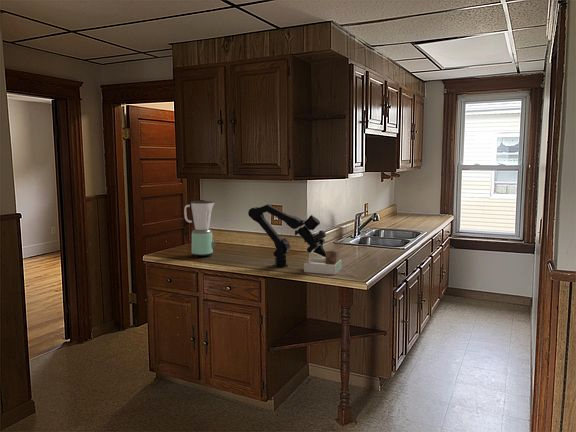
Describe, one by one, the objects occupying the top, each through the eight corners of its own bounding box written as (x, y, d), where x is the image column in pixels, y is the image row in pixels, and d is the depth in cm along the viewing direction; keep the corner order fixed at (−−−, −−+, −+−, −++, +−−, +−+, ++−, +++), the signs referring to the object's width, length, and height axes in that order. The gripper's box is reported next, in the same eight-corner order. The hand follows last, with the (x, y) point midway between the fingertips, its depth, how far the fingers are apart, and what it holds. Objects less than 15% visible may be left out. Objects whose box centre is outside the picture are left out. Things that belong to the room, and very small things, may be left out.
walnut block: (325, 265, 265) (325, 250, 264) (328, 263, 271) (328, 249, 270) (336, 266, 263) (336, 251, 262) (338, 263, 269) (338, 249, 268)
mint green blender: (215, 253, 312) (214, 199, 308) (216, 257, 299) (215, 201, 295) (185, 254, 309) (184, 199, 305) (185, 258, 296) (183, 201, 292)
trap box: (304, 271, 262) (304, 262, 262) (311, 266, 276) (311, 257, 276) (335, 274, 257) (335, 265, 256) (341, 268, 271) (341, 259, 270)
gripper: (312, 228, 258) (332, 250, 256) (321, 224, 276) (340, 244, 274) (298, 242, 262) (318, 263, 260) (308, 236, 279) (326, 256, 277)
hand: (326, 256), depth 268 cm, fingers closed, pressing on walnut block
